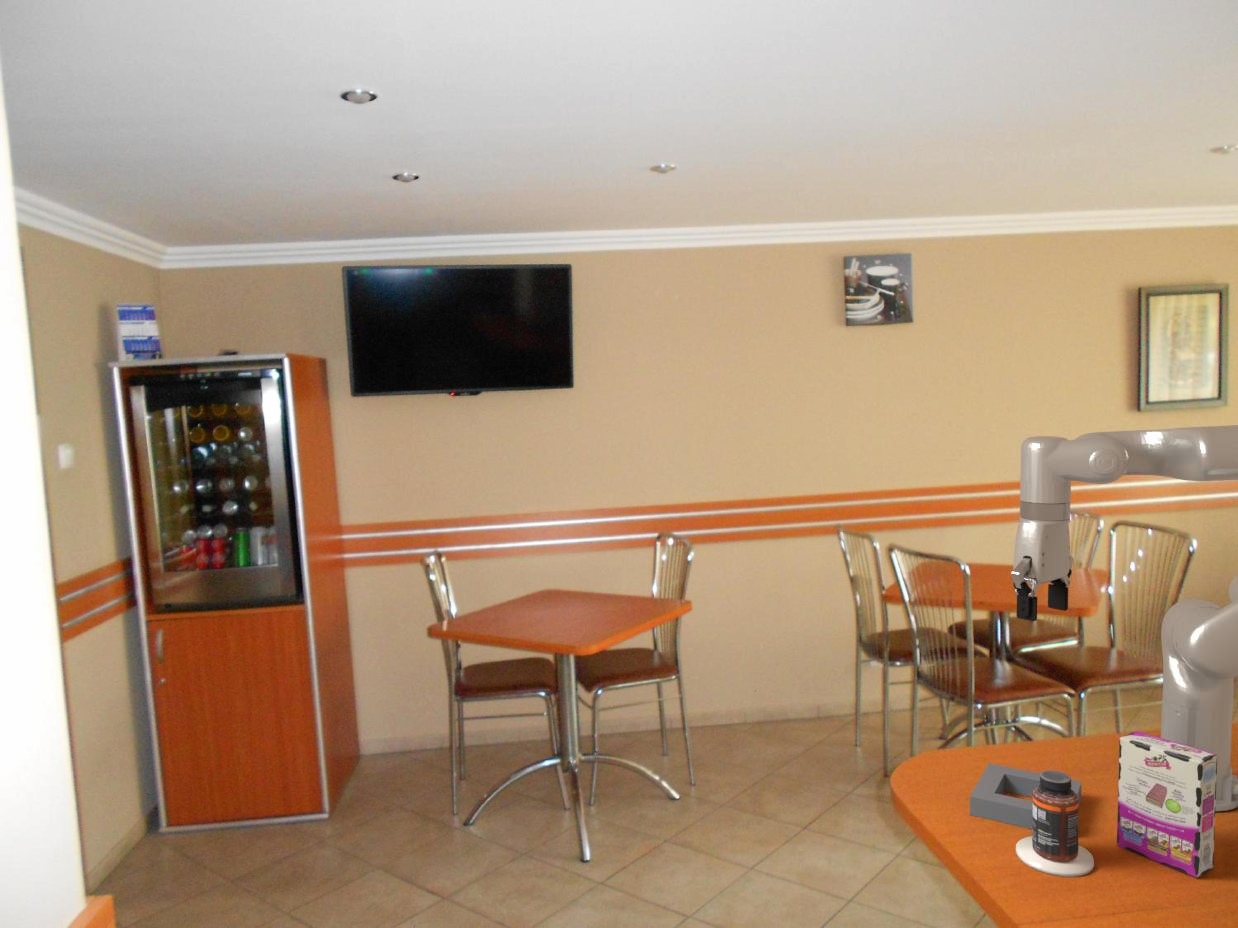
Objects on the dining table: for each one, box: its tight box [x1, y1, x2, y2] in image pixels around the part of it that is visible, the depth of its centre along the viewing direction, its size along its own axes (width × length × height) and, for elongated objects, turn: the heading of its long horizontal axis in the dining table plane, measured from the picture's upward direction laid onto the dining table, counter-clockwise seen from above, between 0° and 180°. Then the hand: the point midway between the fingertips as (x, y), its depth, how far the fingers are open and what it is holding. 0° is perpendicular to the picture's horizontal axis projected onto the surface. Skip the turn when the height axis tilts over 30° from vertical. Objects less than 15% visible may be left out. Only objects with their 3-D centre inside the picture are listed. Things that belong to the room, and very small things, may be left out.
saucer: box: [1015, 835, 1095, 878], centre depth 130 cm, size 10×10×1 cm
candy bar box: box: [1116, 730, 1217, 879], centre depth 129 cm, size 11×5×16 cm, turn 34°
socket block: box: [969, 763, 1082, 830], centre depth 145 cm, size 14×14×3 cm
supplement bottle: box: [1031, 770, 1080, 862], centre depth 130 cm, size 6×6×11 cm
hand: (1042, 614), depth 152 cm, fingers open, 9 cm apart
